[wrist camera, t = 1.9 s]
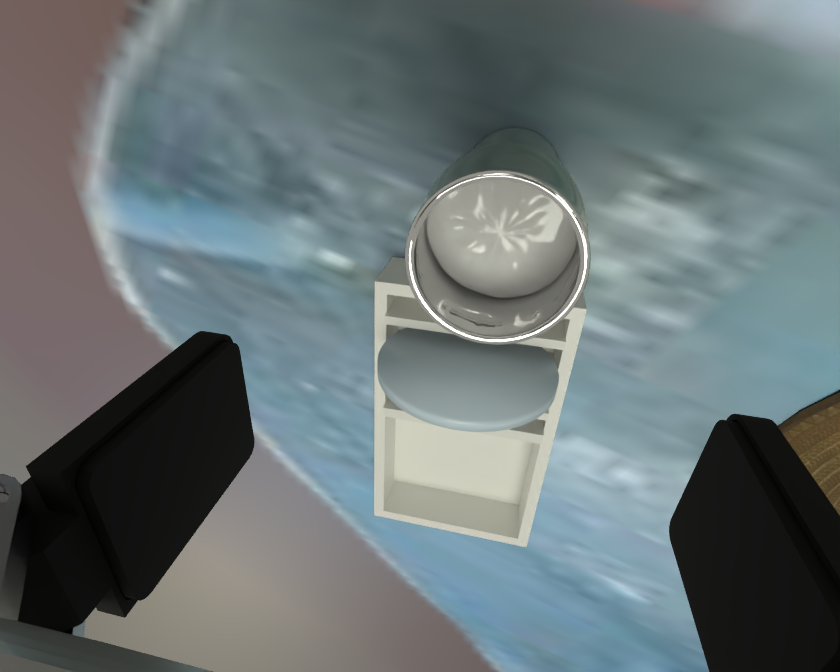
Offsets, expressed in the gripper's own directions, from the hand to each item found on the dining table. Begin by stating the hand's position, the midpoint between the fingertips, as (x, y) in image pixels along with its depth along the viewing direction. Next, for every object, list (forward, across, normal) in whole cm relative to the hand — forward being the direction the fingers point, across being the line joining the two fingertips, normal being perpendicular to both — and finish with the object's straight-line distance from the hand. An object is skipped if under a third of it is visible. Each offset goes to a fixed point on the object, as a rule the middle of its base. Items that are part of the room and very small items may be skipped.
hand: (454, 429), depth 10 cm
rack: (+24, +1, +17) cm, 29 cm away
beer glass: (+24, 0, 0) cm, 24 cm away
